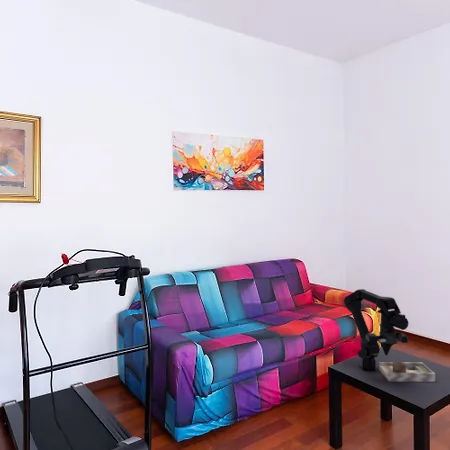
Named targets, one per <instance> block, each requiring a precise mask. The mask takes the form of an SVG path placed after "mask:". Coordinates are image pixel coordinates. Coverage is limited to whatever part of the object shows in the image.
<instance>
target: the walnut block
mask: <svg viewBox="0 0 450 450" xmlns="http://www.w3.org/2000/svg"><path fill="white" fill-rule="evenodd" d="M393 372H394V373H406V365H405V364H404V363H402V361H393Z"/></svg>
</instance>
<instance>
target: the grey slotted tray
mask: <svg viewBox="0 0 450 450" xmlns="http://www.w3.org/2000/svg"><path fill="white" fill-rule="evenodd" d="M393 362H394V361H393ZM393 362H391V361H390V362H389V361H388V362H387V361H385V362H383V361H379V362H378V371H379V372H380V373H381V374H382V376H384V377H385V379H386V380H387V381H388V382H405V383H406V382H422V383H423V382H427V383H428V382H432V383H433V382H436V373H435V372H434V371H433V370H432V369H430V367H428V366H427V365H426V364H425V363H424V362H411V361H410V362H408V361H407V362H406V361H405V362H402V361H401V362H402V363H404V364H405V365H406V373H394V372H393Z"/></svg>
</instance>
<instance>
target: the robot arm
mask: <svg viewBox="0 0 450 450" xmlns="http://www.w3.org/2000/svg"><path fill="white" fill-rule="evenodd" d="M364 300H365V301H368V302H370V303H372V304H374V305H376V307H377V308H378V309H379V310H377V313H379V314H380V323H379V326H380V331H379V335H376V334H375V333H372V332H370V331H369V327H368V326H367V323H366V319H365V317H364V315H363V313H362V305H363V304H362V302H363V301H364ZM343 302H344V306H345V308H346V309H347V310H348V311H349V312H350V313H351V315H352V318H353V320H354V323H355V325H356V328H357V331H358V334H359V336H360V339H361V341H360V349H359V351H357V355H358V356H357V357H359V358H360V364H358V365H359V367H360V369H361V370H362V371H363V372H366V371H367V372H373V371H374V372H376V371H377V369H376V366H377V364H376V363H377V362H376V358H378V356H379V353H380V351H381V349H380V345H381V347H382V350H383V353H384V355H385V356H388V355H389V353H390V350H391V348H392V346H393V345H397V344H398V342H401V343H403V344H404V343H405V344H408V343H409V337H408V336H407V335H406V334H405V333H402V332H396V331H395V328H396V329H399V330H402V331H405V330H406V329H407V328H408V327H409V321H408V318H407V317H406V314H402V312H401V310H400V309H401V308H399V306H398V303H397V301H396V300H395V298H394V297H391V296H382V295H381V296H380V295H379V294H376V293H373V292H371V291H368V290H366V289H364V288H360V289H355V290H354V292H352V293H350V294H348V295H346V296H345V297H344V299H343Z"/></svg>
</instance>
